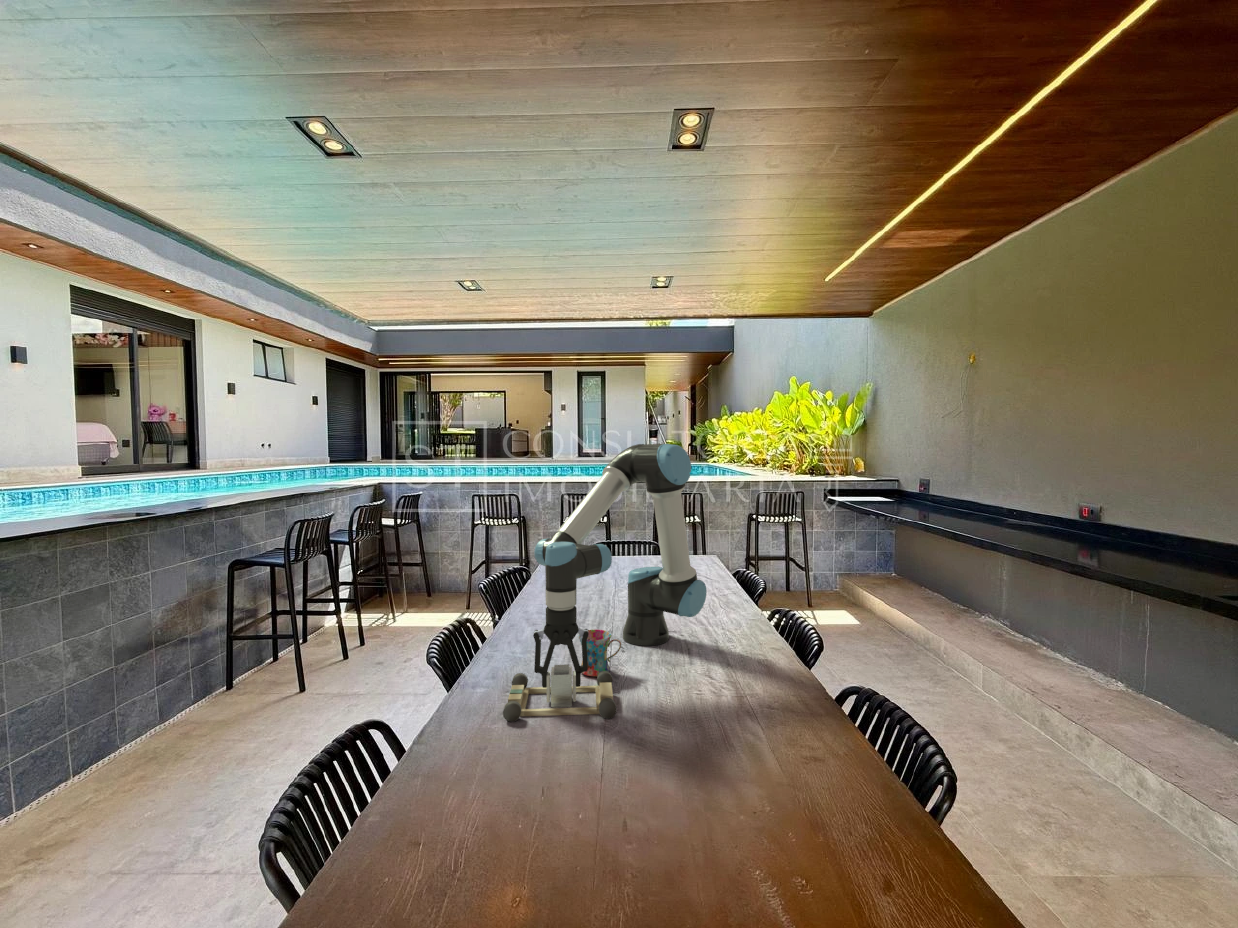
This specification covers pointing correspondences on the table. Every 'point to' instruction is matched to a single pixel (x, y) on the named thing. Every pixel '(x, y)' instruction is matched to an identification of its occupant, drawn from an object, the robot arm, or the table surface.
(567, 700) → the engine block
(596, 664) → the mug
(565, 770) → the table surface
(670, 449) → the robot arm
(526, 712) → the chassis
